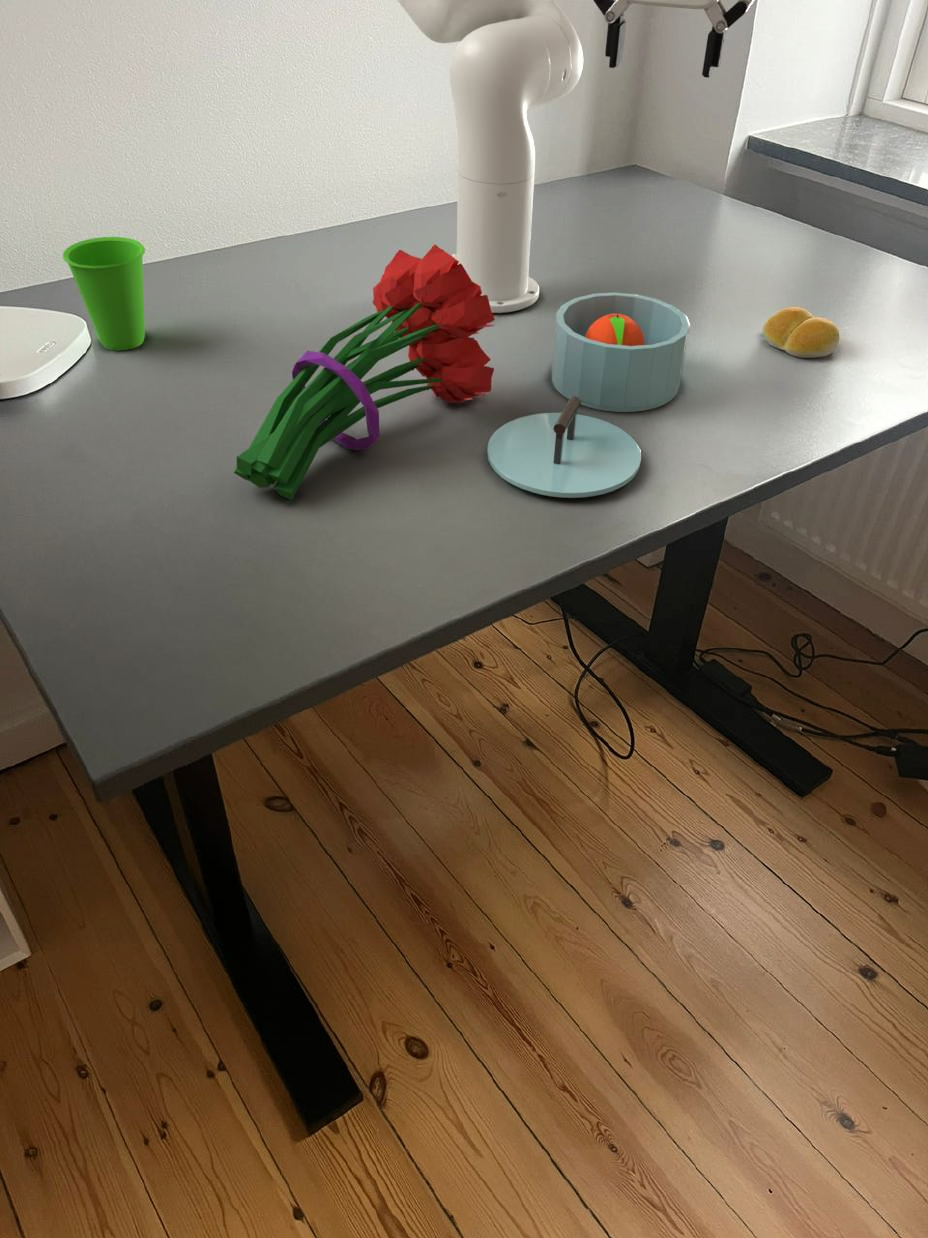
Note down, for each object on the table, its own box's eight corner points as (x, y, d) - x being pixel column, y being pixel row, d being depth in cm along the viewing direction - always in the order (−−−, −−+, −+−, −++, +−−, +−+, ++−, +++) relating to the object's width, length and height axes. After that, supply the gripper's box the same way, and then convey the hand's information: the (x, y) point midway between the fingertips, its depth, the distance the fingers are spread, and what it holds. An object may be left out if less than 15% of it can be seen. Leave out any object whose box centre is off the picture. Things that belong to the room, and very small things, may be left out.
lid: (465, 484, 100) (467, 432, 96) (513, 411, 111) (515, 362, 107) (620, 516, 96) (628, 464, 92) (653, 438, 107) (661, 388, 103)
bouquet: (225, 518, 105) (407, 363, 119) (340, 581, 98) (521, 407, 111) (159, 362, 90) (377, 203, 104) (290, 421, 82) (506, 242, 96)
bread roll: (811, 367, 120) (820, 335, 118) (750, 340, 126) (757, 310, 123) (851, 347, 125) (859, 316, 122) (790, 323, 130) (797, 292, 127)
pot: (536, 398, 113) (540, 335, 108) (570, 344, 124) (575, 284, 119) (665, 422, 110) (675, 358, 105) (688, 364, 120) (699, 303, 116)
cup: (176, 341, 123) (160, 250, 115) (110, 365, 117) (89, 272, 110) (134, 319, 127) (116, 230, 120) (69, 341, 122) (46, 250, 115)
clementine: (645, 392, 114) (654, 333, 109) (584, 391, 114) (590, 332, 109) (636, 360, 120) (644, 302, 115) (577, 359, 120) (583, 301, 115)
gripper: (787, -135, 94) (750, 70, 105) (605, -144, 98) (588, 54, 109) (778, -129, 89) (740, 86, 100) (586, -139, 93) (570, 69, 104)
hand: (660, 69), depth 105 cm, fingers open, 9 cm apart
